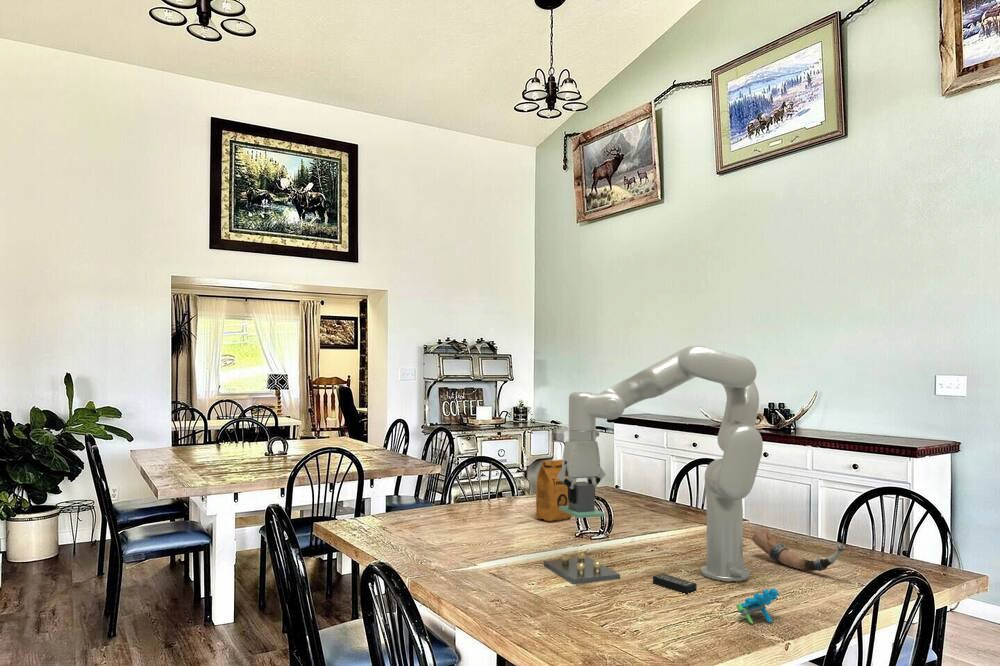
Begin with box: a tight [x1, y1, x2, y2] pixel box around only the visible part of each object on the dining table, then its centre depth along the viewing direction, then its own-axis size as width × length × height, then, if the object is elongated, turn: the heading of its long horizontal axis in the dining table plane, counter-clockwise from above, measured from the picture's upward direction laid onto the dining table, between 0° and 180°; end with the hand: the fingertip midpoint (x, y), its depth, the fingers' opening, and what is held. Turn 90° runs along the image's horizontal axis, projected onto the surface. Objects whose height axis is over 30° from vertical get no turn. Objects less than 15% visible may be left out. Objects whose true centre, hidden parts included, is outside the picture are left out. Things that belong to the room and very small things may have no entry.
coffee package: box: [535, 459, 573, 522], centre depth 256 cm, size 10×12×22 cm
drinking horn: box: [751, 528, 846, 572], centre depth 197 cm, size 6×30×10 cm, turn 28°
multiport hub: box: [652, 573, 698, 595], centre depth 179 cm, size 4×11×2 cm, turn 38°
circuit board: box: [559, 481, 606, 519], centre depth 192 cm, size 12×8×8 cm, turn 21°
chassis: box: [543, 551, 621, 585], centre depth 191 cm, size 18×14×4 cm
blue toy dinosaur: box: [735, 588, 780, 624], centre depth 156 cm, size 11×6×10 cm
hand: (581, 501), depth 192 cm, fingers closed on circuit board, 5 cm apart
